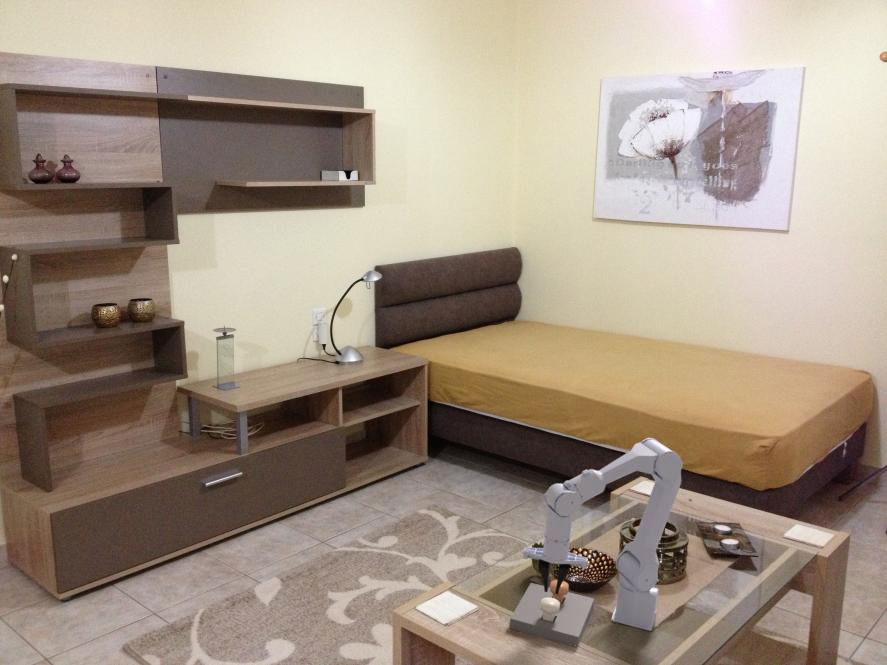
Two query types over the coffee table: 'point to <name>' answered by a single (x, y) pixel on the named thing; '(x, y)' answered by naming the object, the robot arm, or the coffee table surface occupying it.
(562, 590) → the terracotta button
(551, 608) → the white rounded piece
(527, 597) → the button panel
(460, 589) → the coffee table surface
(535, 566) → the cup
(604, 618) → the coffee table surface
